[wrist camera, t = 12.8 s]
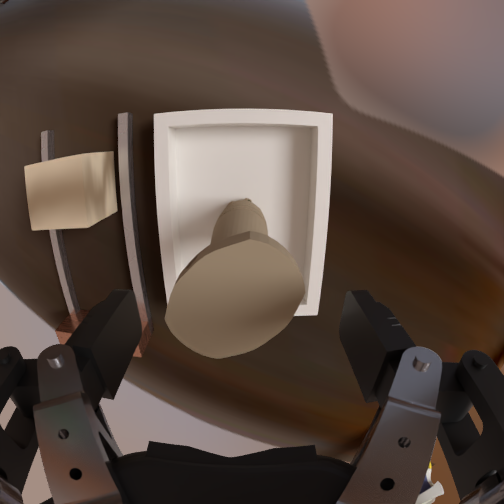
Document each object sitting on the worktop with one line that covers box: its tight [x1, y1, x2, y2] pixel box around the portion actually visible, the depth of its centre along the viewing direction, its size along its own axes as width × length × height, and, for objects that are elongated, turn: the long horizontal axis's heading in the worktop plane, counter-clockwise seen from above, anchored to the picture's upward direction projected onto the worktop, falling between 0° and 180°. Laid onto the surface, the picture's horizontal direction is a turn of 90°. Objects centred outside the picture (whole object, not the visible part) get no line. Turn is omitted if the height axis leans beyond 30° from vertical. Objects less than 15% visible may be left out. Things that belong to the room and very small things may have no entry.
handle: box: [165, 198, 306, 359], centre depth 19 cm, size 5×6×15 cm
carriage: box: [24, 151, 118, 230], centre depth 22 cm, size 6×7×6 cm
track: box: [41, 113, 154, 357], centre depth 24 cm, size 24×11×5 cm, turn 0°
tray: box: [154, 109, 333, 316], centre depth 25 cm, size 18×14×3 cm
